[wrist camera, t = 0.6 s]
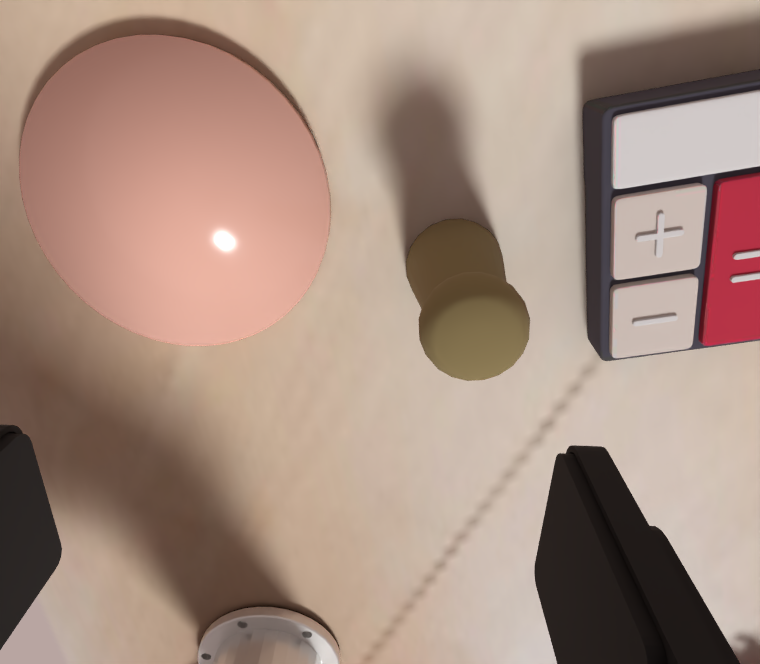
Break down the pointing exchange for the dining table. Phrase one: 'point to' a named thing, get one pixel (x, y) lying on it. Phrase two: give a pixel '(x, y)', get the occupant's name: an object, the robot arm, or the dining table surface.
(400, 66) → the dining table surface
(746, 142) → the calculator
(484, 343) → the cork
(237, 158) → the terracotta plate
